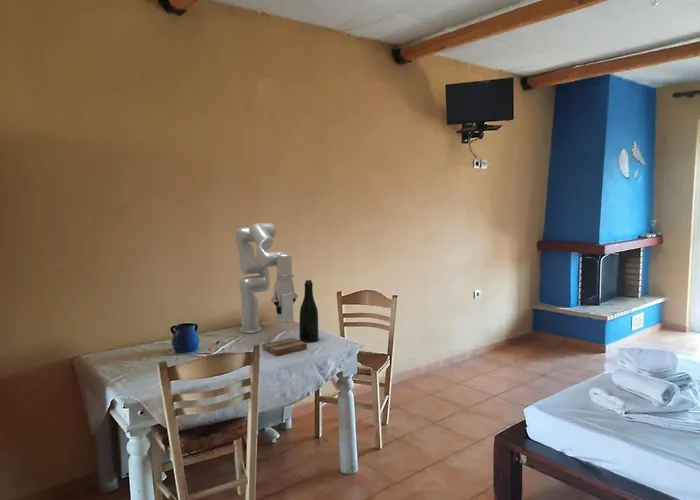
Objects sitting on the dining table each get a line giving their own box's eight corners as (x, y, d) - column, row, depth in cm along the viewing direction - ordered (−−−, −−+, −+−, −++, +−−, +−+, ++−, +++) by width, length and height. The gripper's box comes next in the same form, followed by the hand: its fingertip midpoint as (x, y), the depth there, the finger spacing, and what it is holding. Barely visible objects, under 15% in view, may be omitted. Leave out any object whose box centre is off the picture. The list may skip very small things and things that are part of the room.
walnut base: (263, 349, 265) (263, 344, 265) (293, 343, 276) (292, 337, 276) (276, 356, 255) (276, 350, 255) (306, 349, 266) (306, 343, 266)
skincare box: (294, 322, 262) (293, 293, 260) (283, 324, 259) (282, 294, 257) (286, 318, 269) (286, 290, 267) (275, 320, 266) (275, 291, 264)
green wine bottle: (311, 343, 275) (311, 282, 271) (295, 341, 280) (294, 280, 276) (322, 338, 284) (322, 279, 280) (306, 336, 289) (305, 277, 285)
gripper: (294, 275, 269) (294, 309, 272) (265, 278, 258) (266, 314, 261) (302, 277, 264) (303, 311, 266) (273, 281, 253) (273, 317, 255)
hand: (284, 312), depth 263 cm, fingers closed on skincare box, 6 cm apart
